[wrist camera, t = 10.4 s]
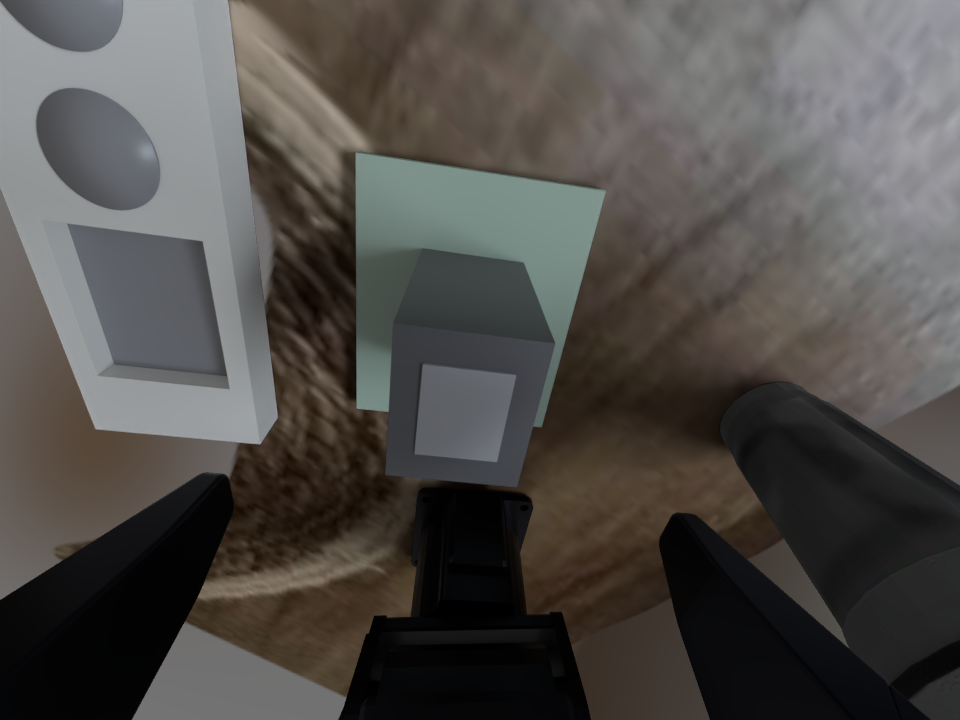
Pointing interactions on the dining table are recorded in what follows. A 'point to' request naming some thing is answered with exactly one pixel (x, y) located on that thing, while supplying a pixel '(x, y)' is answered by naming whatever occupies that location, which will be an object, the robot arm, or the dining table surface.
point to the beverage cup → (861, 534)
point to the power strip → (139, 209)
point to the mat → (461, 246)
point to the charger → (466, 370)
